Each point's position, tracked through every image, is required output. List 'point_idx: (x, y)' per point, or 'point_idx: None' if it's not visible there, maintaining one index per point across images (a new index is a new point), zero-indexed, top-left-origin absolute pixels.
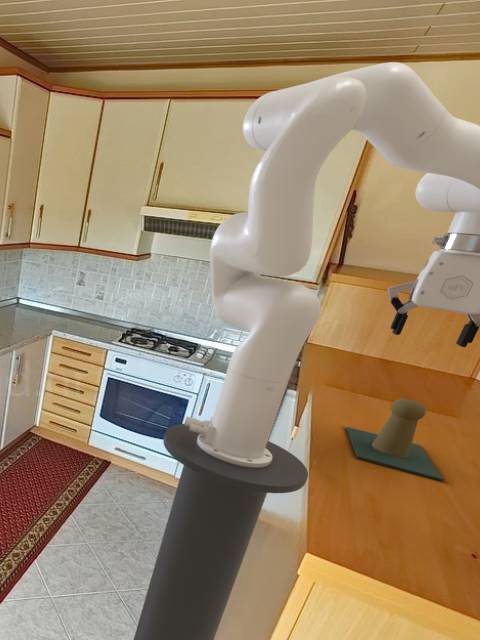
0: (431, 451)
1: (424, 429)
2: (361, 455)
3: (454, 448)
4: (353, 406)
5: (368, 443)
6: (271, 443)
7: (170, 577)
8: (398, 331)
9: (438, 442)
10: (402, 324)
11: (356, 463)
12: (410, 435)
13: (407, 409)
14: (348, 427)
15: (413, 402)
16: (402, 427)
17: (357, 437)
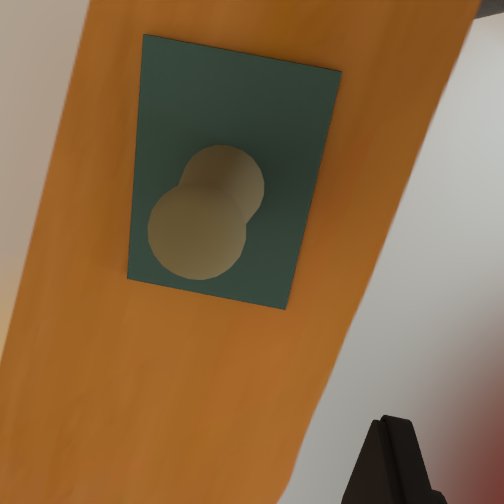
0: (105, 262)
1: (78, 409)
2: (327, 85)
3: (44, 317)
4: (206, 481)
5: (268, 206)
6: None
7: None
8: (402, 435)
9: (70, 338)
10: (414, 495)
11: (358, 24)
12: (191, 172)
13: (215, 193)
14: (282, 307)
15: (190, 228)
16: (217, 176)
17: (284, 239)
